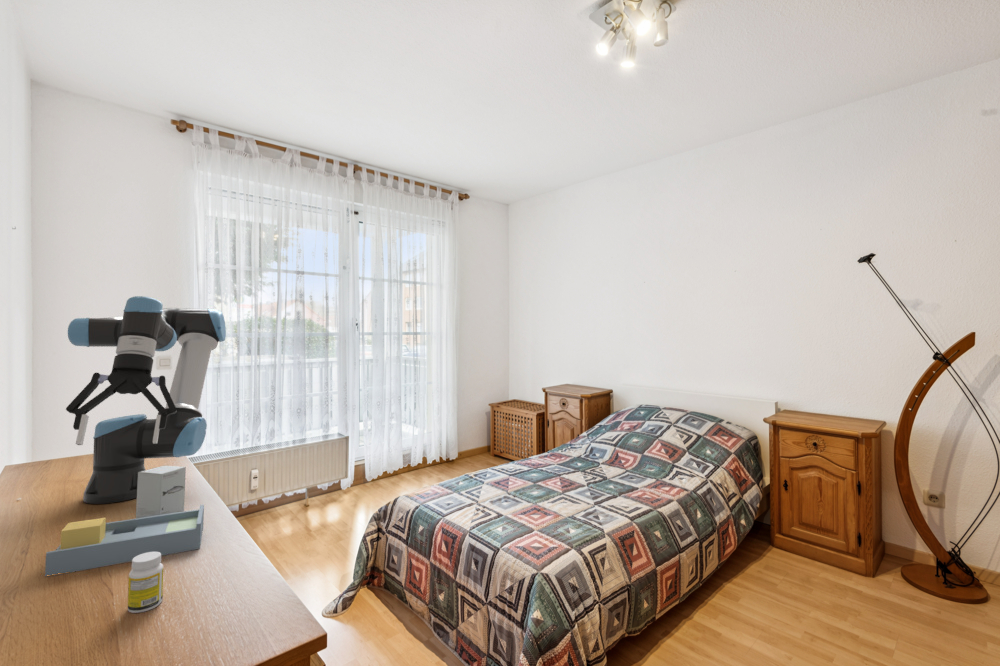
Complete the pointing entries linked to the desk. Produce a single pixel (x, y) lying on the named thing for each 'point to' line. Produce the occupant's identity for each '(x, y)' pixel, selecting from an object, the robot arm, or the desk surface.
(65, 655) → the desk surface
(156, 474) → the supplement box
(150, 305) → the robot arm
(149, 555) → the supplement bottle
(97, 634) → the desk surface
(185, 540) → the tray
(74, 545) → the block
